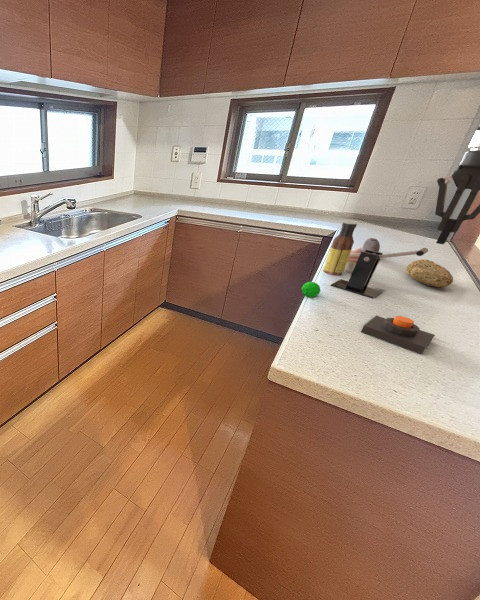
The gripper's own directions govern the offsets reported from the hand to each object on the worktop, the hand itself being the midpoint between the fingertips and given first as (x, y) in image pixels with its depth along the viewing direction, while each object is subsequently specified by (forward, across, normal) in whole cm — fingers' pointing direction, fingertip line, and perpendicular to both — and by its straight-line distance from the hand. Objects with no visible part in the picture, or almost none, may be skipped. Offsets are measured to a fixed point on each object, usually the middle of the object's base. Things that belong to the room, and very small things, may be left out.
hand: (440, 242), depth 90 cm
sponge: (+21, +2, -37) cm, 43 cm away
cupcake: (+21, +21, -23) cm, 38 cm away
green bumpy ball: (+21, +22, +16) cm, 34 cm away
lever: (+8, +8, -3) cm, 11 cm away
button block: (+21, -2, +24) cm, 32 cm away
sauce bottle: (+21, +25, -14) cm, 35 cm away
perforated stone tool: (+21, +23, -56) cm, 65 cm away
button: (+17, -2, +24) cm, 30 cm away
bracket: (+21, +14, -3) cm, 25 cm away
